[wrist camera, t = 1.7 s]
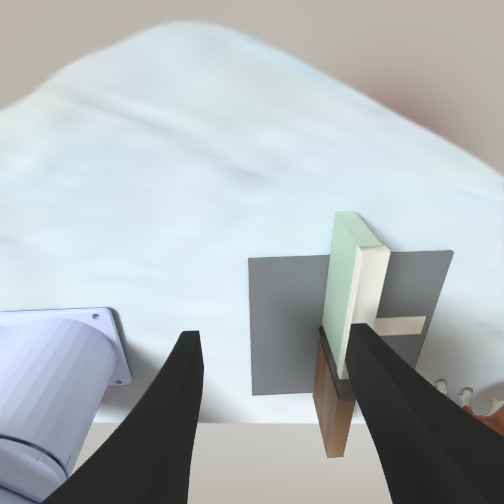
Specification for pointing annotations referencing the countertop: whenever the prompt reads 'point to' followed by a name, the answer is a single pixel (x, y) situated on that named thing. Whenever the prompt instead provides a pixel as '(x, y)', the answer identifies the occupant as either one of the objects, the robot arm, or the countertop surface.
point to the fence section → (332, 400)
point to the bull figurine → (498, 418)
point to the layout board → (312, 307)
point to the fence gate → (352, 282)
